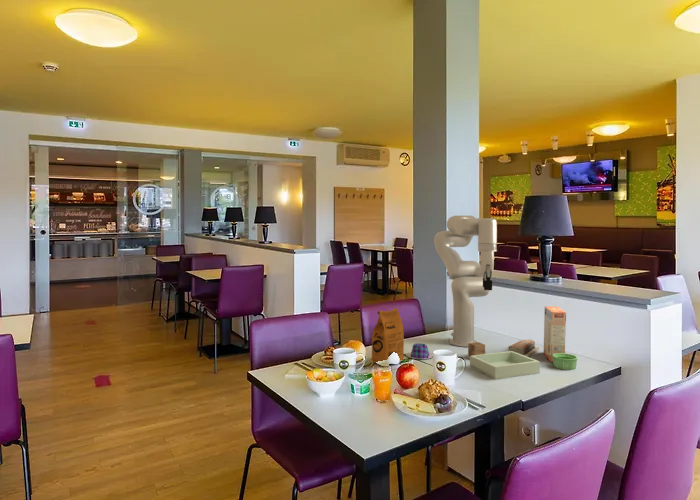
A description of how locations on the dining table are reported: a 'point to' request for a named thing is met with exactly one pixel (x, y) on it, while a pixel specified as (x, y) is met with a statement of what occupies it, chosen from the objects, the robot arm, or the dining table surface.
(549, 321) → the cracker box
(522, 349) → the packaged product
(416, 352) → the purple plaid hat
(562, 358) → the ramekin
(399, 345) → the coffee package
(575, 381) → the dining table surface
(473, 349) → the walnut block
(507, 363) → the bin
